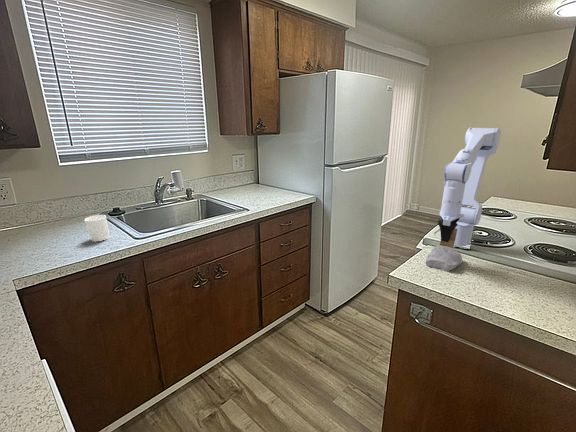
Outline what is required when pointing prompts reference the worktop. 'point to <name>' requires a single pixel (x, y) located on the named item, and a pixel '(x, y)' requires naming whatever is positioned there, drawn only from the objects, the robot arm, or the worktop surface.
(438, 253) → the stone block
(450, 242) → the walnut block
